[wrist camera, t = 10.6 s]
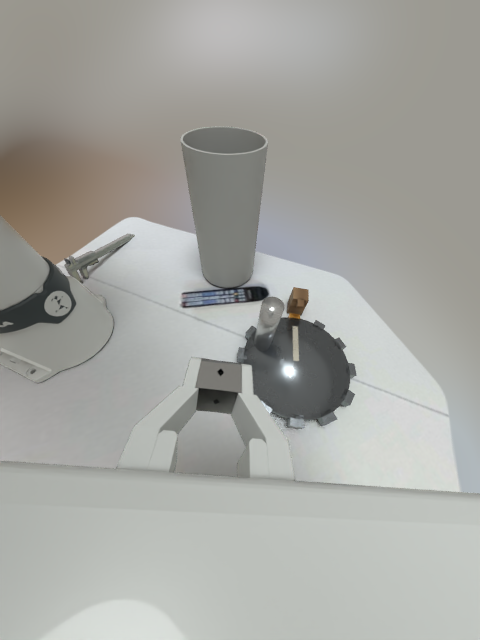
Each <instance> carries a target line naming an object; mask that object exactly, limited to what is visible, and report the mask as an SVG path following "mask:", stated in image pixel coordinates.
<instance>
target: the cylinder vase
mask: <svg viewBox="0 0 480 640" xmlns="http://www.w3.org/2000/svg"><path fill="white" fill-rule="evenodd" d="M181 146H182V151H183V158H184V163H185V170H186V175H187V181H188V188H189V194H190V199H191V206H192V212H193V218H194V223H195V230H196V236H197V242H198V248H199V254H200V260H201V265H202V271H203V275H204V277H205V278H206V279H207V280H208V281H209V282H210V283H212V284H213V285H216V286H219V287H224V288H232V287H237V286H240V285H242V284H244V283H245V282H247V281H248V280H249V278H250V277H251V275H252V272H253V264H254V256H255V248H256V239H257V231H258V222H259V214H260V205H261V197H262V188H263V180H264V172H265V163H266V154H267V146H268V140H267V138H266V137H264V136H263V135H261V134H259V133H257V132H254V131H251V130H247V129H242V128H235V127H205V128H198V129H194V130H191V131H189V132H186V133H185V134H183V135H182V136H181Z"/></svg>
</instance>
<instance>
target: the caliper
mask: <svg viewBox="0 0 480 640" xmlns="http://www.w3.org/2000/svg"><path fill="white" fill-rule="evenodd" d="M134 236H135V235H133V234H126V235H124V236H122V237H120V238H118V239H116V240H114V241H113V242H111V243H109V244H107V245H105V246H103V247H101V248H99V249H97V250H95V251H89V252H87V253H85V254H83V255H81V256H79V257H77V258H75V259H74V257H72V256H69V259H64V260H65V261H66V264H65V267H66V269H67V271H68V273H69V274H70V275H71V276H72V277H74V278H76V279H77V280H78V281H79V282H80V283H83V282H82V280H81V278H80V276H79V274H78V272H77V270H78V269H79V271H80V273H81V275H82V276H83V278H85V279H88V278H89V277H88V271H87V266H91V265H94V264H95V263H98V262H99V261H98V258H100V257H102V256H104V255H105V254H107V253H109V252H111V251H112V250H114V249H116V248H118V247H120V246H121V245H123V244H125V243H127V242H129V241H130V240H131V239H132V237H134Z"/></svg>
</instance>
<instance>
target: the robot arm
mask: <svg viewBox="0 0 480 640" xmlns="http://www.w3.org/2000/svg"><path fill="white" fill-rule="evenodd" d="M112 330H113V317H112V315H111V313H110V312H109V311H108V310H107V308H106V301H105V298H104V297H102V296H101V295H93V294H92V293H91V292H90V291H89V290H88V289H87V288H86V287H85V286H84V285H83V284H81V283H80V282H79V281H78V280H77V279H76V278H74V277H68V276H65V275H64V274H63V273H62V271H61V270H60V269H59V268H58V267H57V266H56V265H54V264H52V262H50V261H49V260H48V259H47V258H44V257H42V256H40V255H39V254H38V253H37V252H36V251H35V250H34V249H33V248H32V247H31V246H30V245H29V244H28V243H27V242H26V241H25V240H24V239H23V238H22V237H21V236H20V235H19V234H18V233H17V232H16V231H15V230H14V229H13V228H12V227H11V226H10V225H9V224H8V223H7V222H6V221H5V220H4V219H3V218H2V217H1V216H0V364H1V365H3V366H5V367H7V368H9V369H10V370H12V371H14V372H16V373H18V374H20V375H22V376H24V377H26V378H28V379H30V380H32V381H33V382H36V383H40V382H43V381H45V380H47V379H48V378H50V377H52V376H53V375H55V374H56V373H58V372H60V371H62V370H65V369H68V368H71V367H74V366H76V365H79V364H81V363H83V362H85V361H86V360H88V359H89V358H91V357H92V356H94V355H95V354H96V353H97V352H98V351H99V350H100V349H101V348H102V347H103V346H104V345H105V344H106V342H107V341H108V339H109V338H110V336H111V333H112ZM35 371H36V372H35ZM34 372H35V373H34ZM196 410H197V411H210V412H219V413H227V414H231V416H232V418H233V420H234V422H235V425H236V427H237V429H238V431H239V433H240V435H241V438H242V440H243V442H244V444H245V446H246V449H245V450H244V452H243V454H242V456H241V458H240V459H239V461H238V463H237V477H231V476H216V475H201V474H187V473H174V471H175V467H176V462H177V434H178V433H179V432H180V431H181V429H182V428H183V427H184V426H185V424H186V423H187V422H188V421H189V420H190V418H191V417H192V416H193V415H194V413H195V412H196ZM0 640H480V494H479V493H463V492H450V491H435V490H420V489H406V488H391V487H377V486H362V485H347V484H333V483H318V482H304V481H295V477H294V471H293V466H292V460H291V454H290V449H289V443H288V440H287V439H286V437H285V436H284V434H283V433H282V431H281V430H280V428H279V427H278V425H277V424H276V423H275V421H274V420H273V418H272V417H271V415H270V414H269V412H268V411H267V410H266V408H265V407H264V405H263V404H262V402H261V401H260V399H259V398H258V396H257V395H254V393H253V376H252V366H251V365H247V364H241V363H233V362H225V361H216V360H209V359H203V358H196V357H191V358H190V361H189V365H188V368H187V372H186V375H185V379H184V382H183V386H179V387H177V388H176V389H175V390H174V391H173V392H172V393H171V394H170V395H169V396H167V397H166V398H165V399H164V400H163V401H162V402H161V403H160V404H158V405H157V406H156V407H155V408H154V409H153V410H152V411H151V412H150V413H148V414H147V415H146V416H145V417H144V418H143V419H142V420H141V421H140V422H138V423H137V424H136V425H135V426H134V428H133V430H132V433H131V435H130V437H129V440H128V442H127V444H126V447H125V449H124V451H123V453H122V456H121V458H120V460H119V463H118V465H117V467H116V469H114V468H99V467H85V466H70V465H55V464H41V463H26V462H12V461H0Z"/></svg>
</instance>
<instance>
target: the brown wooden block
mask: <svg viewBox="0 0 480 640" xmlns="http://www.w3.org/2000/svg"><path fill="white" fill-rule="evenodd" d="M307 303H308V290H307V289H301V288H295V287H294V288H293V290H292V293H291V295H290V298H289V301H288V306H287V313H289V314H290V313H292V314H300V315H301V314H302V312H303V310H304V309H305V307H306V305H307Z"/></svg>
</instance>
